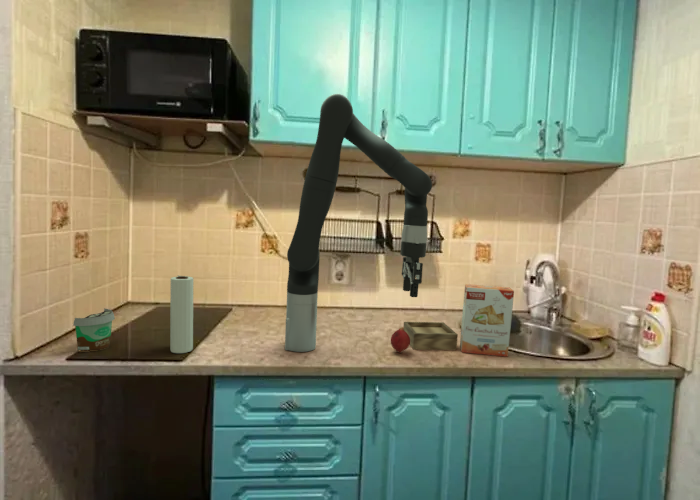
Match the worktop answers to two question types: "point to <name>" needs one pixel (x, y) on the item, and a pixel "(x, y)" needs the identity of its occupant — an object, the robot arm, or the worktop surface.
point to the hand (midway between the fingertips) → (409, 293)
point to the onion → (400, 340)
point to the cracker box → (486, 320)
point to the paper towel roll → (181, 314)
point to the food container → (94, 330)
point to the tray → (431, 336)
